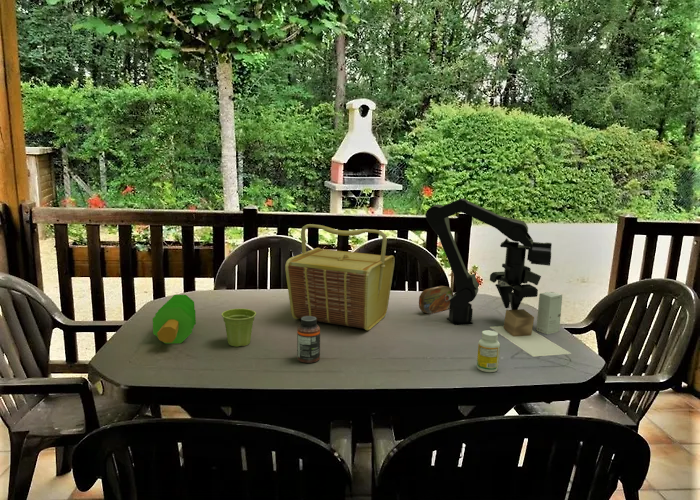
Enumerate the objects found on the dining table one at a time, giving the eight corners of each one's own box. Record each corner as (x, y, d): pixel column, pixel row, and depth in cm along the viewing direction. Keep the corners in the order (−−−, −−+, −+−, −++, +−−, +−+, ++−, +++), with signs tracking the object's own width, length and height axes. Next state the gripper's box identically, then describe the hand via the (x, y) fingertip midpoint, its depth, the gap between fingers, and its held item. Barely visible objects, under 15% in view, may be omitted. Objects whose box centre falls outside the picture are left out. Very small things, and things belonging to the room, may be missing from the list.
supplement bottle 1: (305, 353, 149) (306, 313, 147) (324, 358, 146) (325, 317, 144) (292, 360, 144) (292, 318, 142) (311, 365, 141) (312, 323, 139)
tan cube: (513, 336, 166) (516, 318, 164) (503, 328, 172) (506, 310, 170) (531, 335, 167) (534, 317, 166) (520, 327, 173) (523, 309, 171)
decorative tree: (155, 308, 144) (174, 276, 173) (139, 346, 146) (161, 308, 175) (197, 323, 147) (208, 289, 176) (181, 361, 149) (195, 321, 178)
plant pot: (262, 340, 158) (262, 310, 157) (245, 351, 149) (245, 320, 148) (233, 335, 161) (233, 306, 160) (215, 346, 152) (214, 316, 151)
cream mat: (533, 357, 151) (533, 356, 151) (488, 327, 174) (489, 326, 174) (571, 354, 153) (571, 353, 153) (523, 325, 177) (523, 324, 177)
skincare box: (547, 335, 169) (551, 296, 166) (535, 331, 172) (538, 293, 170) (559, 332, 172) (563, 294, 170) (547, 327, 176) (551, 290, 173)
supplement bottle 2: (492, 374, 139) (495, 338, 137) (472, 368, 142) (475, 332, 140) (501, 368, 143) (504, 332, 141) (482, 362, 146) (485, 327, 144)
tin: (423, 316, 185) (424, 291, 183) (416, 313, 187) (417, 289, 185) (453, 308, 194) (454, 285, 192) (446, 306, 196) (447, 283, 195)
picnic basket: (281, 323, 173) (281, 228, 167) (316, 302, 197) (318, 218, 191) (369, 338, 162) (372, 236, 157) (395, 314, 186) (399, 225, 180)
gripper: (556, 268, 163) (550, 319, 167) (521, 253, 181) (517, 299, 184) (522, 270, 160) (517, 321, 164) (490, 255, 178) (487, 301, 181)
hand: (510, 310), depth 173 cm, fingers open, 4 cm apart
